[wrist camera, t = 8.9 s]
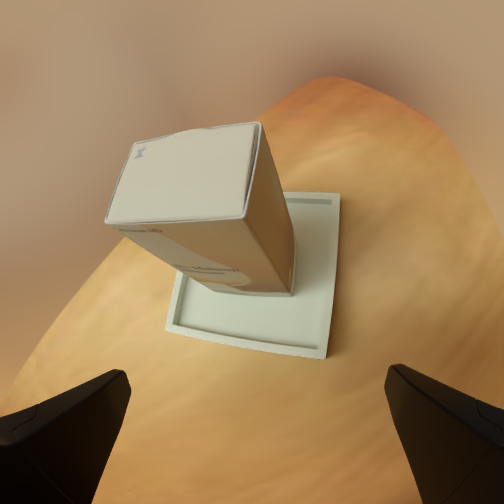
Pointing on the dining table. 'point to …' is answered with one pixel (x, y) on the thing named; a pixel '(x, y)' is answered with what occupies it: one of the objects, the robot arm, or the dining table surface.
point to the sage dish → (273, 308)
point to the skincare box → (210, 209)
